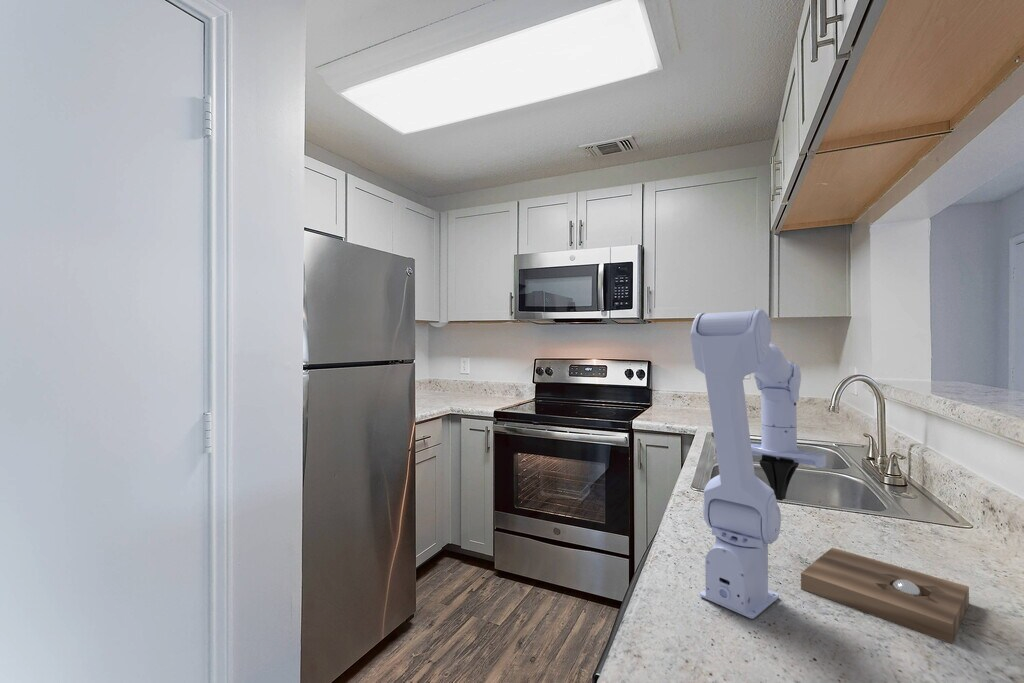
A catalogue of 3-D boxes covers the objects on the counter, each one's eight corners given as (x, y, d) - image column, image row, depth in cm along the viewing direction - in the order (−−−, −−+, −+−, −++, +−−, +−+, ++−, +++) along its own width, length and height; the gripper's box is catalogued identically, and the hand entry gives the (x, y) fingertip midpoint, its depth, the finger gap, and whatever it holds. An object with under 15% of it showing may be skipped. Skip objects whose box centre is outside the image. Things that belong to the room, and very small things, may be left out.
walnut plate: (952, 643, 59) (952, 624, 59) (800, 588, 73) (800, 573, 73) (969, 603, 69) (968, 586, 69) (832, 561, 82) (832, 547, 82)
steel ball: (918, 579, 67) (889, 578, 69) (928, 606, 65) (898, 605, 67) (914, 579, 70) (886, 579, 71) (923, 606, 68) (894, 605, 70)
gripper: (831, 428, 82) (832, 504, 82) (748, 418, 93) (748, 485, 93) (817, 432, 78) (818, 513, 77) (731, 422, 89) (732, 492, 89)
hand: (779, 498), depth 85 cm, fingers closed
